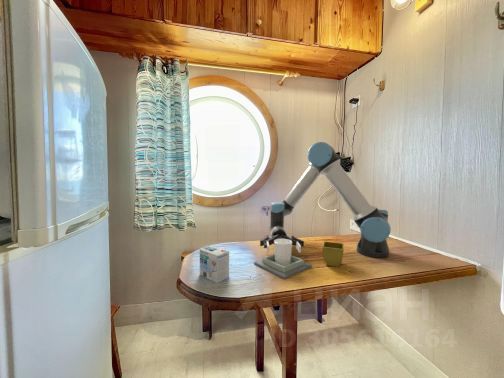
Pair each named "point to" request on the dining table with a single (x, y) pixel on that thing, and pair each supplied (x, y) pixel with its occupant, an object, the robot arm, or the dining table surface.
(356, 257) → the dining table surface
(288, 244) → the white cup
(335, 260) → the flower pot
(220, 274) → the light bulb box
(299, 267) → the holder tray
